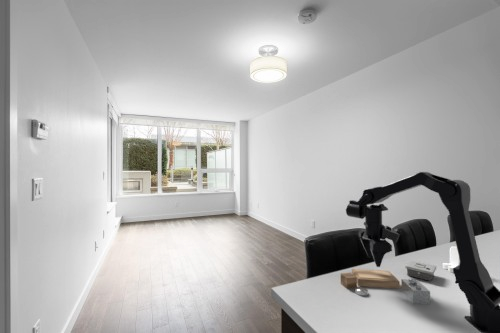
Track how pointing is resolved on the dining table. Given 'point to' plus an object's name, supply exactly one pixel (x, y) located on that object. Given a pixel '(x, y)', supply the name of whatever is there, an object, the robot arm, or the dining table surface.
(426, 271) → the electrical switch
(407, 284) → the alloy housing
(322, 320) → the dining table surface
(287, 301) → the dining table surface
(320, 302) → the dining table surface
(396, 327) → the dining table surface
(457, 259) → the cable organizer
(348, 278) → the walnut offcut
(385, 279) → the tan shallow rectangular tray
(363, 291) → the chrome dome knob
